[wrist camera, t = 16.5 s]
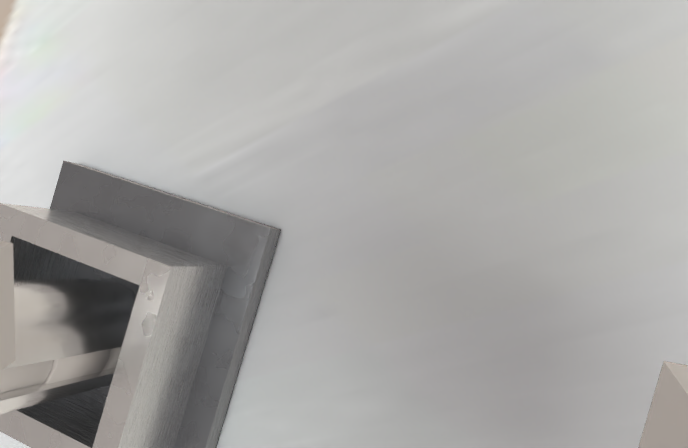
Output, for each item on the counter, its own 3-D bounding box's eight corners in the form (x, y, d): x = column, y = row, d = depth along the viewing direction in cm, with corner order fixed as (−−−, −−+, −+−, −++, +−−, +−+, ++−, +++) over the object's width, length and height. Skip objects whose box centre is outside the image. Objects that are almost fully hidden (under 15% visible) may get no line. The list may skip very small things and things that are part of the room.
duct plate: (79, 164, 44) (-12, 144, 37) (280, 229, 39) (220, 221, 32) (9, 409, 44) (-95, 437, 37) (198, 505, 39) (121, 558, 32)
